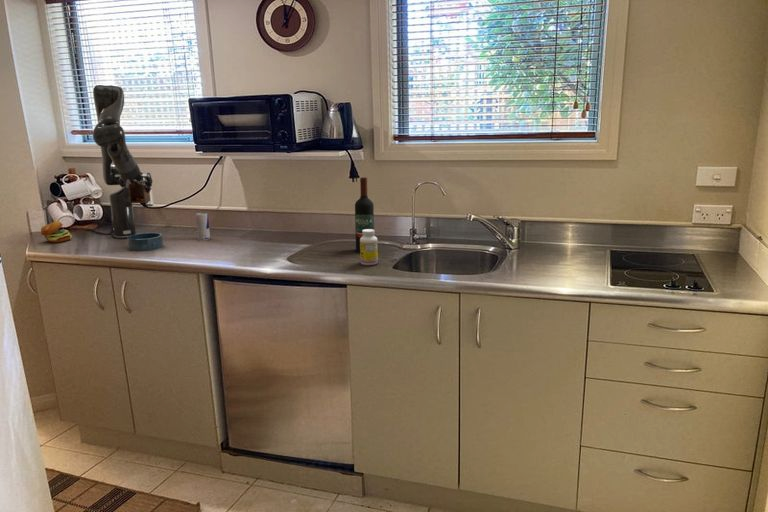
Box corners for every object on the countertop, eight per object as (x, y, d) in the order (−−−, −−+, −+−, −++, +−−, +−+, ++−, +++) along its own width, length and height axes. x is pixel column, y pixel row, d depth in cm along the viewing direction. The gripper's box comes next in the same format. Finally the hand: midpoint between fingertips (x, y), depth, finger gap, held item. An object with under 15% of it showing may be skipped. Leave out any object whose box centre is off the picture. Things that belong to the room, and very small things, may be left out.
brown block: (145, 203, 232) (143, 183, 230) (130, 203, 232) (127, 183, 230) (150, 200, 238) (148, 181, 236) (135, 201, 238) (133, 181, 236)
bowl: (122, 249, 241) (120, 237, 239) (150, 243, 252) (148, 231, 250) (141, 253, 233) (140, 240, 232) (170, 247, 244) (168, 234, 243)
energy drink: (212, 238, 260) (209, 212, 257) (207, 241, 255) (205, 214, 252) (200, 238, 261) (198, 212, 258) (195, 241, 255) (193, 214, 252)
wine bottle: (376, 249, 238) (375, 176, 230) (370, 253, 231) (369, 179, 223) (359, 247, 240) (358, 176, 233) (353, 251, 233) (351, 178, 226)
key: (145, 200, 235) (145, 198, 235) (134, 200, 235) (134, 198, 234) (147, 199, 237) (147, 197, 237) (136, 199, 237) (136, 197, 237)
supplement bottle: (359, 261, 219) (359, 228, 216) (377, 260, 219) (376, 228, 216) (360, 266, 212) (360, 232, 209) (378, 265, 213) (378, 231, 210)
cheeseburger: (74, 240, 257) (64, 220, 253) (48, 249, 252) (39, 229, 248) (71, 236, 265) (62, 216, 262) (46, 245, 260) (37, 224, 257)
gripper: (146, 157, 223) (160, 183, 238) (109, 157, 223) (125, 184, 237) (143, 172, 220) (156, 198, 234) (105, 172, 219) (121, 198, 234)
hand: (140, 191), depth 236 cm, fingers closed on brown block, 6 cm apart
